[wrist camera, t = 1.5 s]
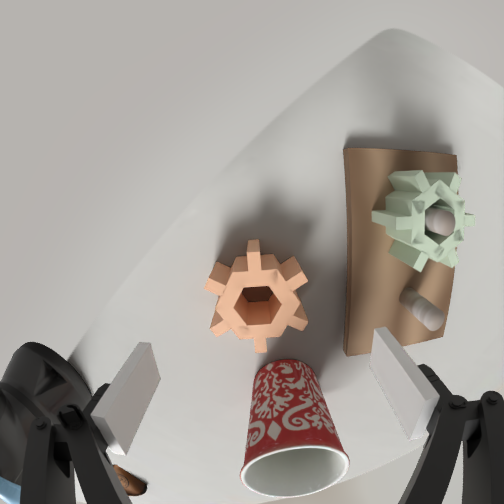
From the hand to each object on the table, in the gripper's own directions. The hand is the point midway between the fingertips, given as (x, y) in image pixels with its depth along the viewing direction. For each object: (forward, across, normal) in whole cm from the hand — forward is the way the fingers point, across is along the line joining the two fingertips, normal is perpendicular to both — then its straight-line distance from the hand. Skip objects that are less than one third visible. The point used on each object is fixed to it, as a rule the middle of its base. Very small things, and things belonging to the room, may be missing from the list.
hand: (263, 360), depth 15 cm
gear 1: (+13, 0, 0) cm, 13 cm away
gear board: (+13, +15, +2) cm, 20 cm away
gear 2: (+11, +15, +6) cm, 20 cm away
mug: (+13, +3, -14) cm, 19 cm away
